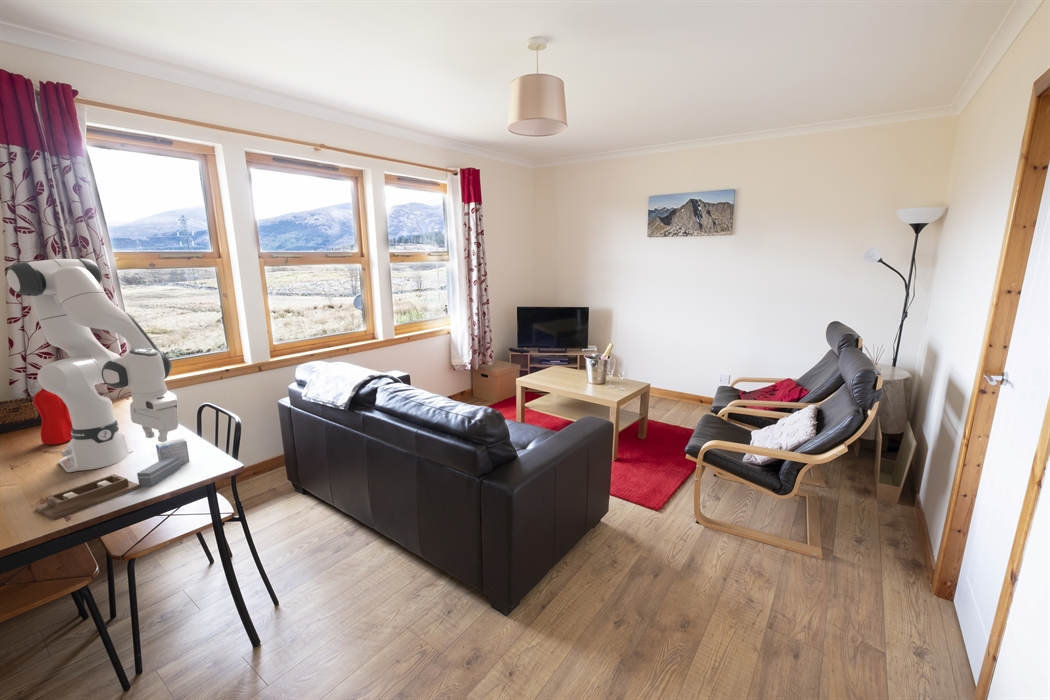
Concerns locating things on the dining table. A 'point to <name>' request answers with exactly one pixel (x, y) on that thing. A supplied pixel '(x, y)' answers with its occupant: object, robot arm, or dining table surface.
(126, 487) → the brown wooden tray
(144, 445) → the dining table surface
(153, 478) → the gray rectangular box
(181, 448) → the medicine box
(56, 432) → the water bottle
